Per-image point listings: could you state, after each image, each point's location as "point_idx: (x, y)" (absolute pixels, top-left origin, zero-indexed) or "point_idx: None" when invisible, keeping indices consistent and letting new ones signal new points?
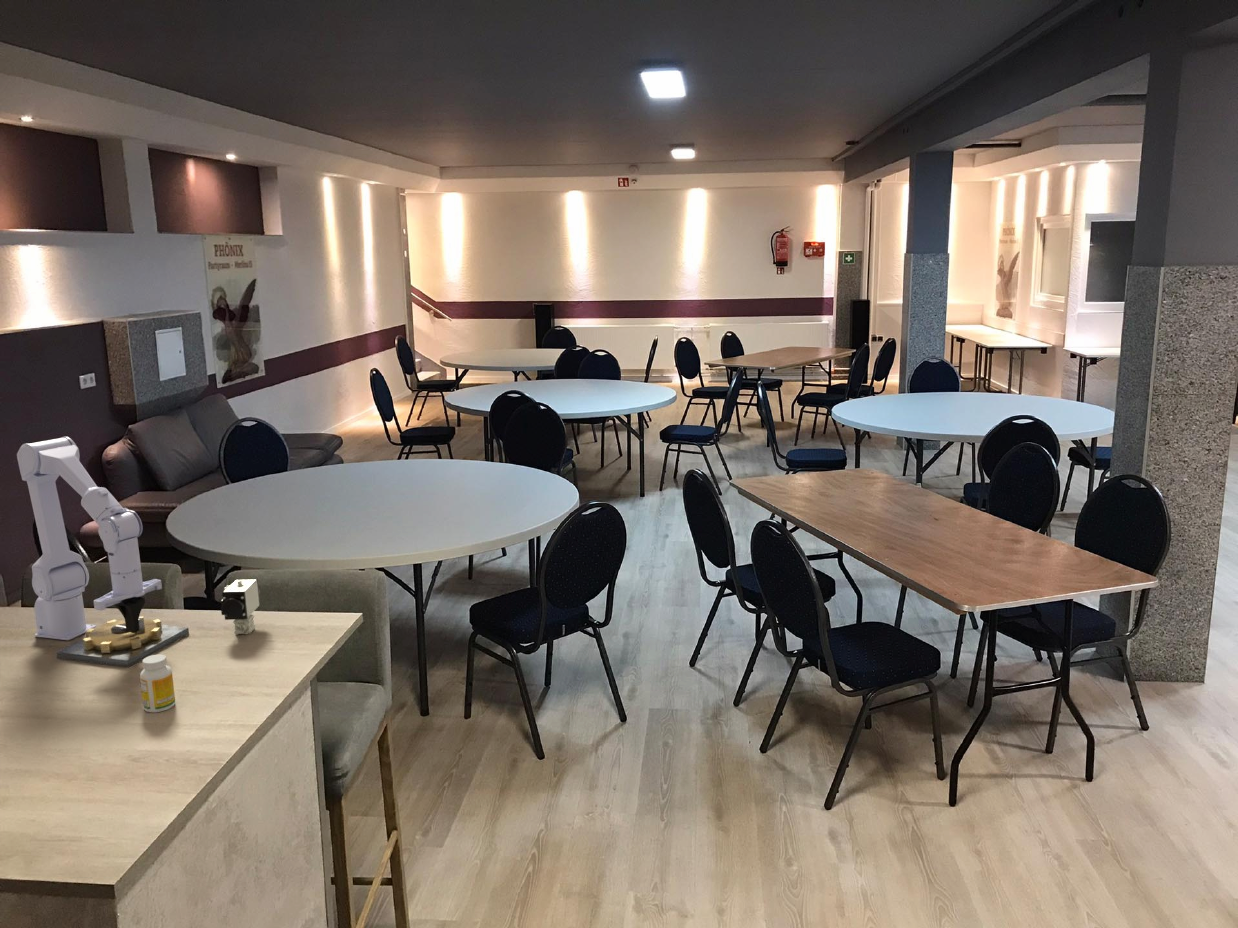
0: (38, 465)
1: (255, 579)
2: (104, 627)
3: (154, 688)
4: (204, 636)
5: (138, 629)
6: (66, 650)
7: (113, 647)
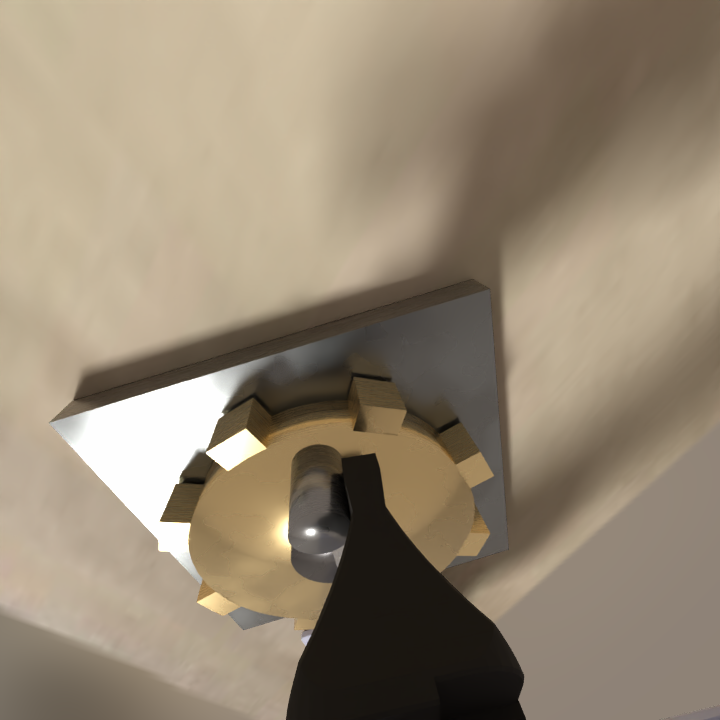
0: None
1: None
2: None
3: None
4: (3, 307)
5: (346, 463)
6: (491, 539)
7: (441, 441)
